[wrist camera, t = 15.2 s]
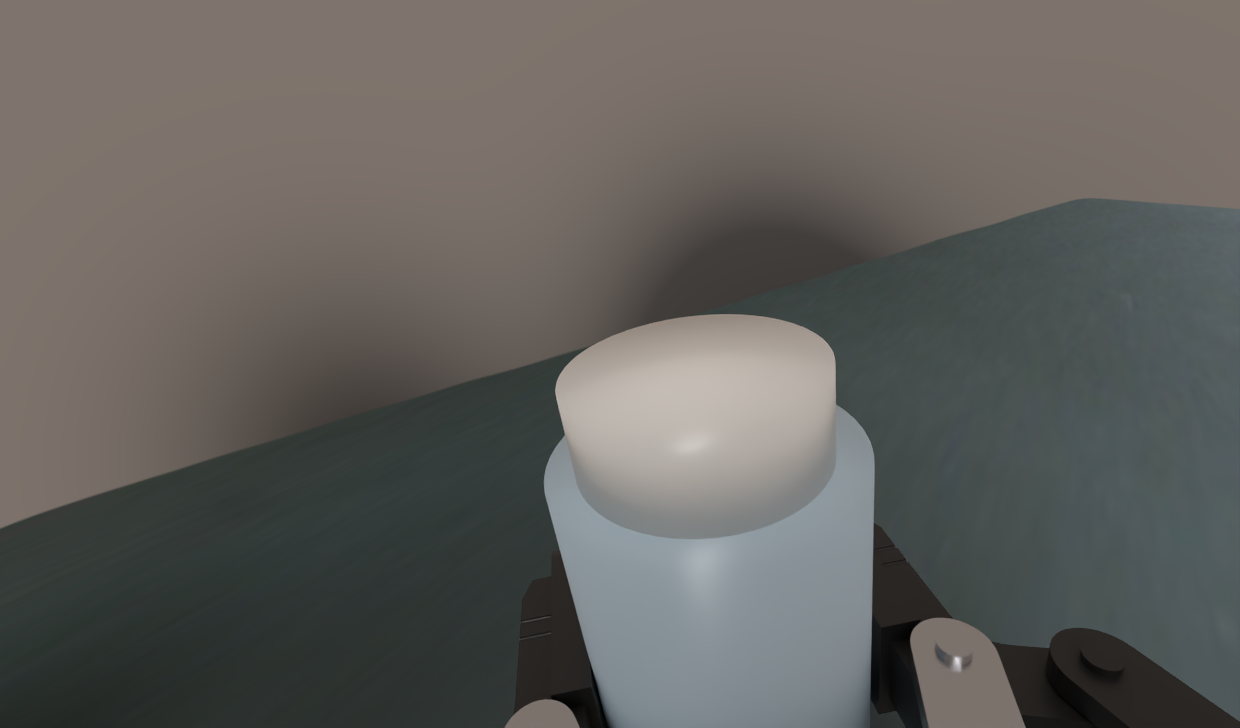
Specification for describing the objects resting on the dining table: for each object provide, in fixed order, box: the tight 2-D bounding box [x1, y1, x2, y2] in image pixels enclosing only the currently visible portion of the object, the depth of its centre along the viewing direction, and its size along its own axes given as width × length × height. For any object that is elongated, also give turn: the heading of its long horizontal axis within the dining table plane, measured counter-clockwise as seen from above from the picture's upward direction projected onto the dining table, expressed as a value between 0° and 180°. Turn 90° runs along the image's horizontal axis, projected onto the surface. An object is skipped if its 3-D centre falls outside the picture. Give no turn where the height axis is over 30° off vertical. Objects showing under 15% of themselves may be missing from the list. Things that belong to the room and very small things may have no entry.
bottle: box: [544, 314, 874, 728], centre depth 11 cm, size 5×5×14 cm
